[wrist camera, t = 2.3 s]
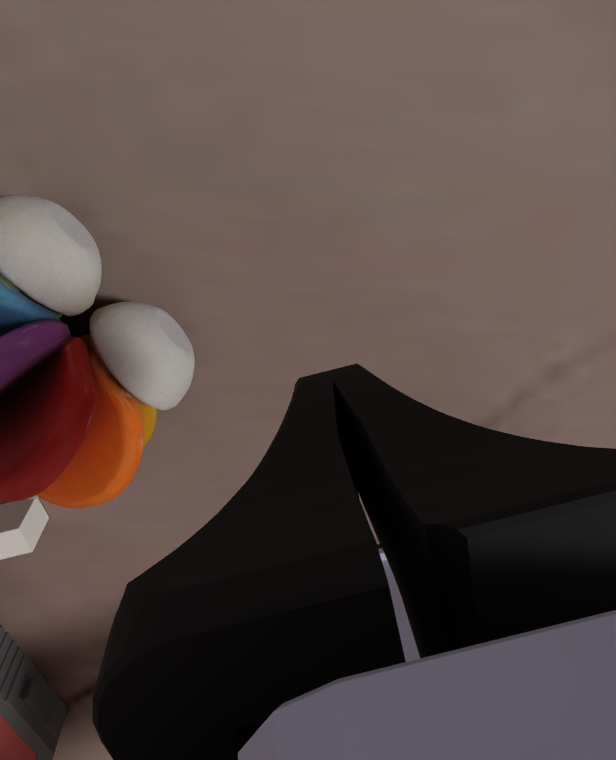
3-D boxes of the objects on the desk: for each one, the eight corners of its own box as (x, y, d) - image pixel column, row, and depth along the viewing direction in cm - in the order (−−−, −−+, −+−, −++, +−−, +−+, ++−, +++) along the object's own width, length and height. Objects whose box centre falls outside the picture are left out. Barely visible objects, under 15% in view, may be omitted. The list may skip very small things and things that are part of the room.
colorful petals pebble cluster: (70, 483, 23) (1, 632, 16) (-150, 308, 19) (-358, 411, 12) (229, 363, 21) (222, 474, 15) (25, 144, 17) (-108, 162, 11)
